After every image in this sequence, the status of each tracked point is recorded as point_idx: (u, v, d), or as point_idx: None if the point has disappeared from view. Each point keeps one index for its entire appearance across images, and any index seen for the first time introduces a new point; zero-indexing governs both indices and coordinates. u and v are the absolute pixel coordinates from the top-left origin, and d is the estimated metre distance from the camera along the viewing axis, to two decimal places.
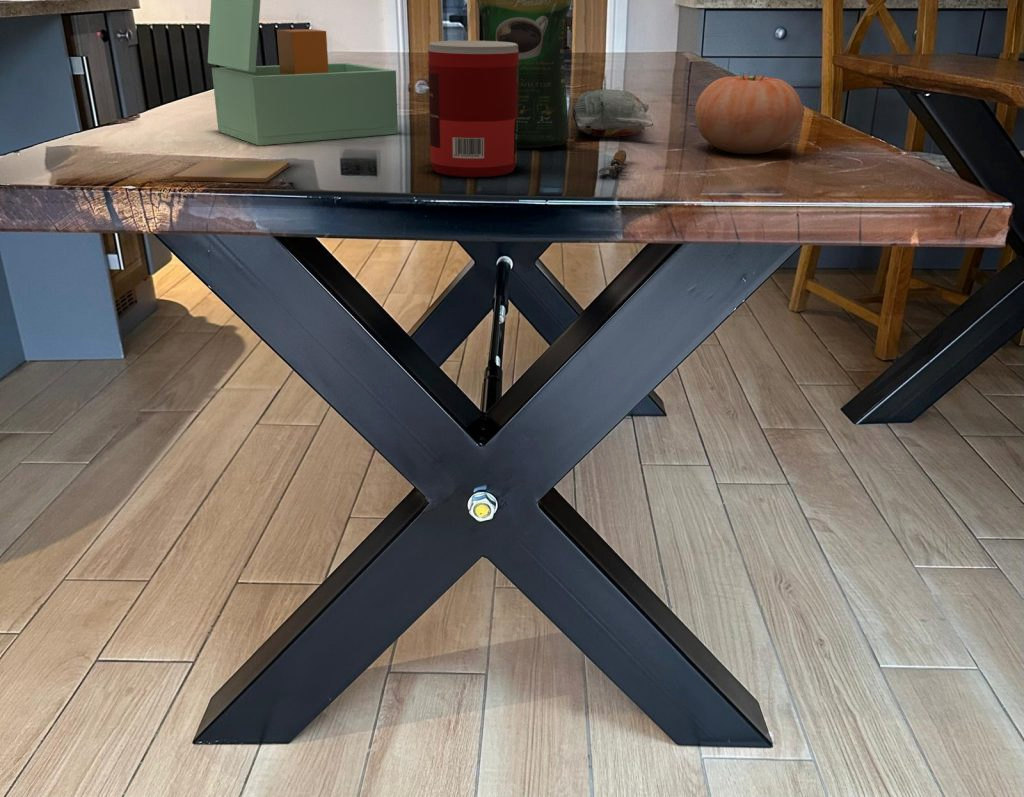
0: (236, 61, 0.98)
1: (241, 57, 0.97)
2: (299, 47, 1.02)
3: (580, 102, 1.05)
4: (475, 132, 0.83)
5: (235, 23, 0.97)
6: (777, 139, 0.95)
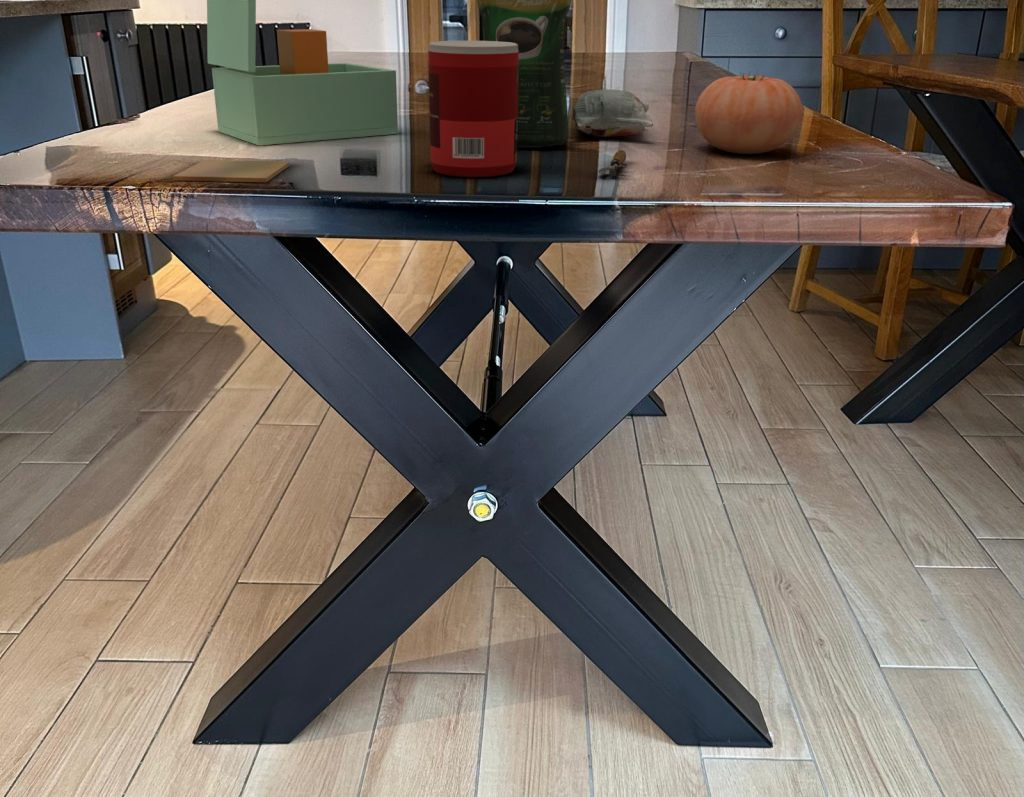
0: (235, 62, 0.98)
1: (240, 57, 0.97)
2: (299, 47, 1.02)
3: (580, 102, 1.05)
4: (475, 132, 0.83)
5: (232, 23, 0.97)
6: (777, 139, 0.95)
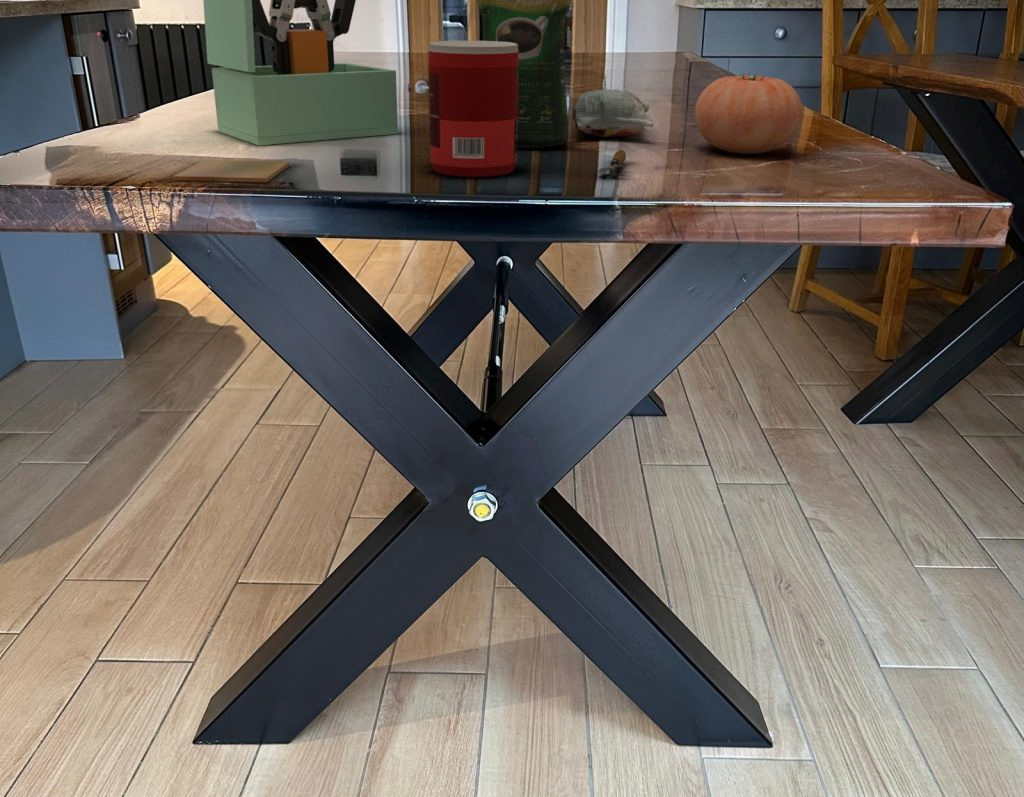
0: (235, 62, 0.98)
1: (239, 57, 0.97)
2: (299, 47, 1.02)
3: (580, 102, 1.05)
4: (475, 132, 0.83)
5: (229, 23, 0.97)
6: (777, 139, 0.95)
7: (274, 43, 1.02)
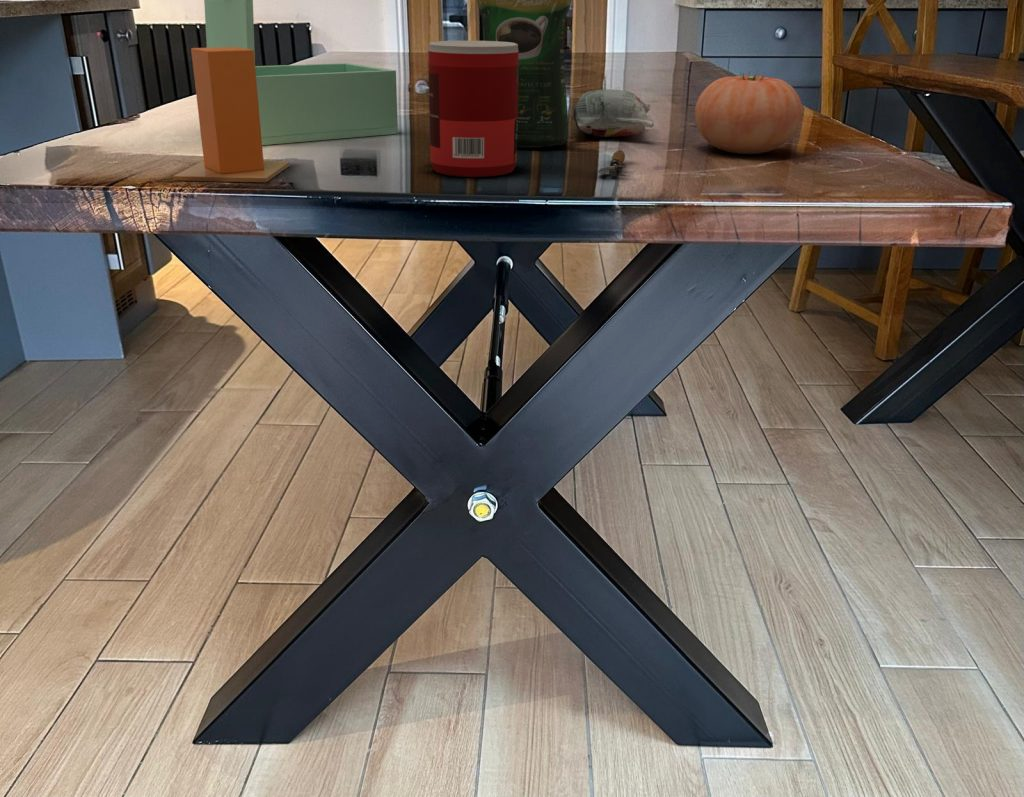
0: None
1: None
2: (218, 71, 0.79)
3: (581, 102, 1.05)
4: (475, 132, 0.83)
5: (230, 23, 0.97)
6: (777, 139, 0.95)
7: None
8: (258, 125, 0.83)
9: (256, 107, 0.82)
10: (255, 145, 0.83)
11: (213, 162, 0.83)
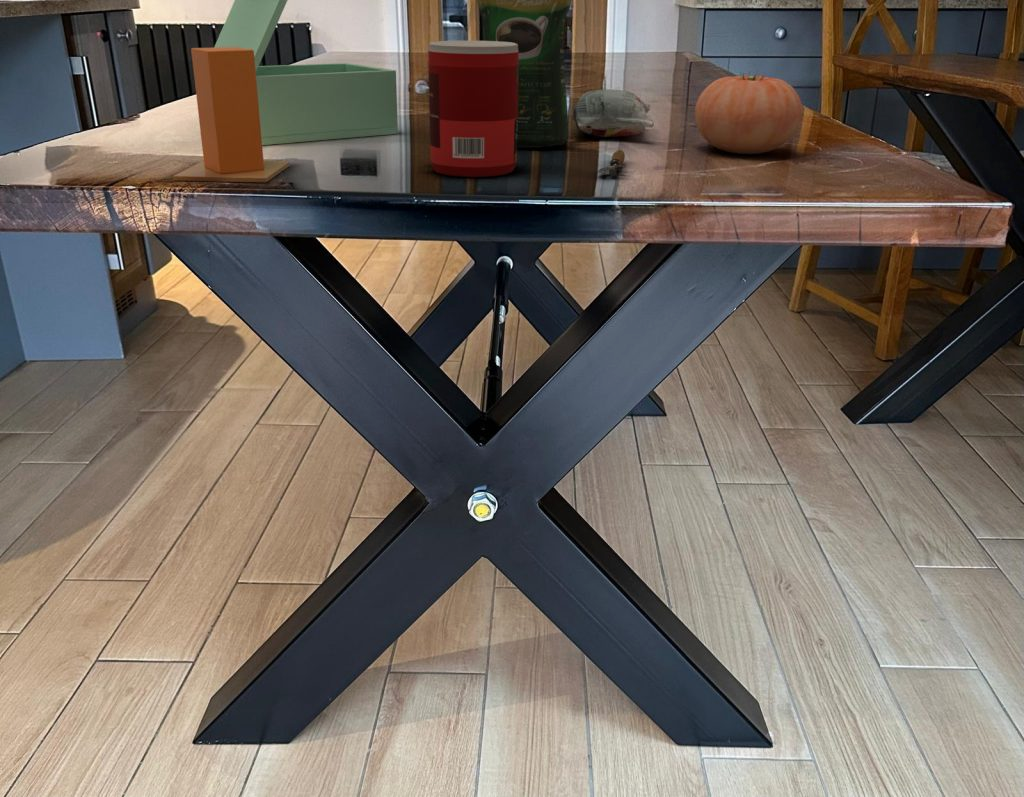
0: None
1: None
2: (218, 71, 0.79)
3: (581, 102, 1.05)
4: (475, 132, 0.83)
5: (250, 27, 0.98)
6: (777, 139, 0.95)
7: None
8: (258, 125, 0.83)
9: (256, 107, 0.82)
10: (255, 145, 0.83)
11: (213, 162, 0.83)
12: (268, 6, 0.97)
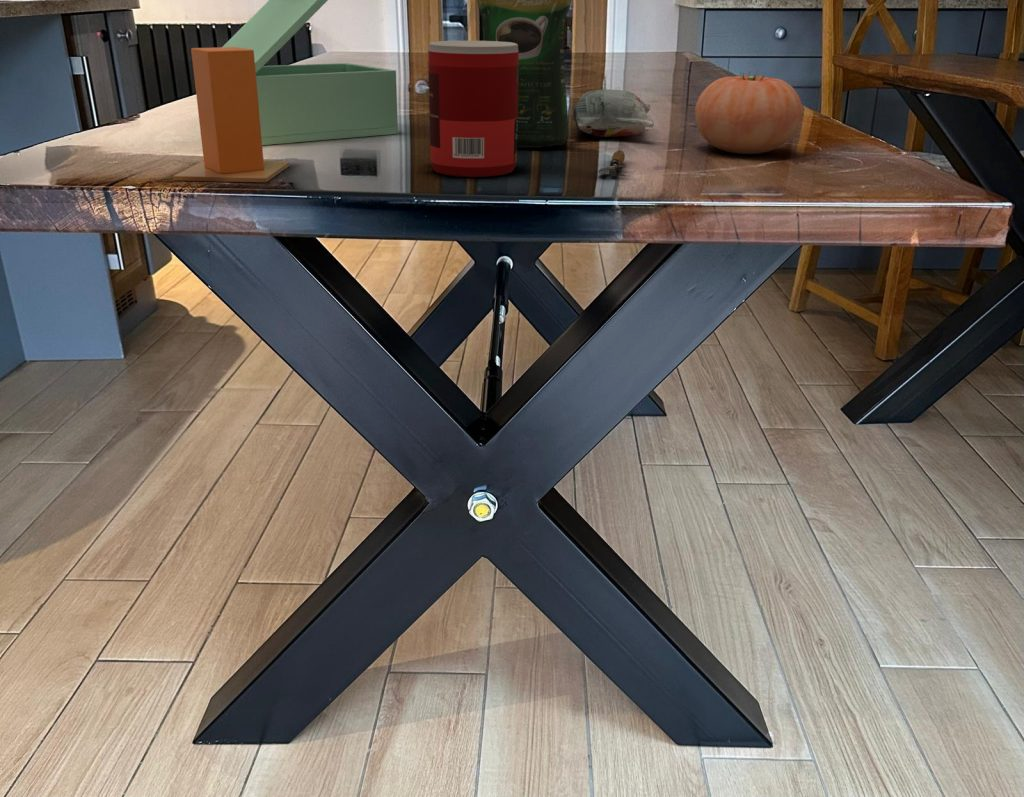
0: None
1: None
2: (218, 71, 0.79)
3: (581, 102, 1.05)
4: (475, 132, 0.83)
5: (262, 36, 1.00)
6: (777, 139, 0.95)
7: None
8: (258, 125, 0.83)
9: (256, 107, 0.82)
10: (255, 145, 0.83)
11: (213, 162, 0.83)
12: (287, 21, 0.98)
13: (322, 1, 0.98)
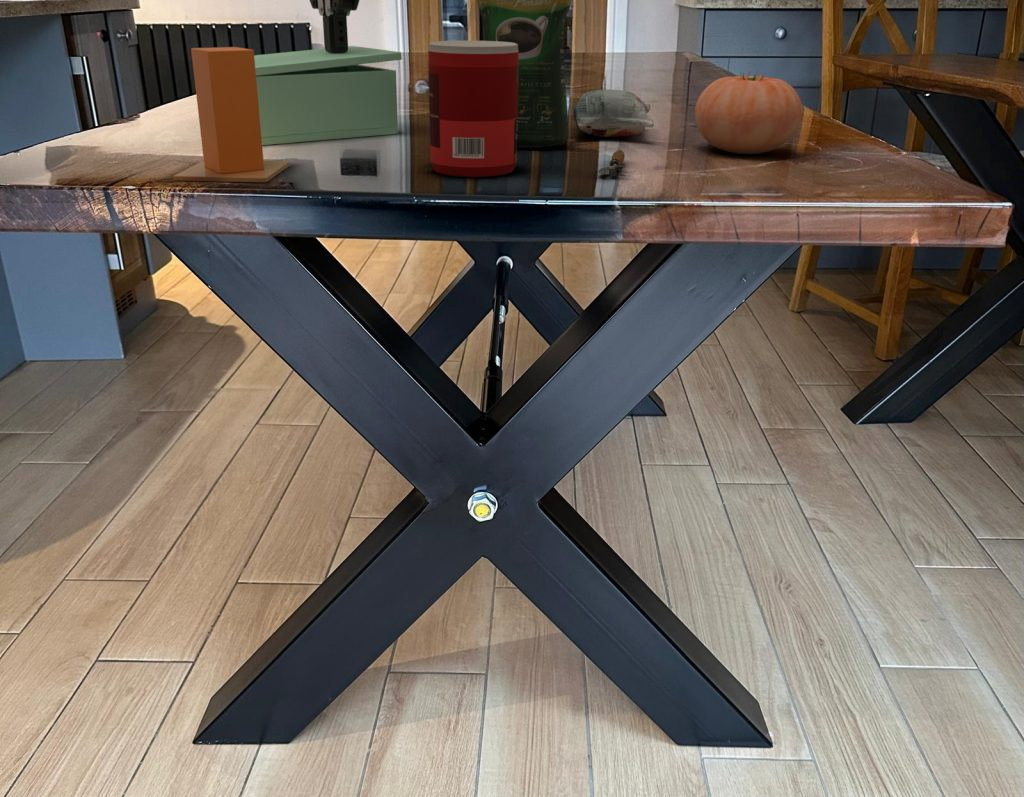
0: None
1: (255, 65, 0.98)
2: (218, 71, 0.79)
3: (581, 102, 1.05)
4: (475, 132, 0.83)
5: (275, 60, 1.01)
6: (777, 139, 0.95)
7: (343, 18, 1.04)
8: (258, 125, 0.83)
9: (256, 107, 0.82)
10: (255, 145, 0.83)
11: (213, 162, 0.83)
12: (305, 60, 1.01)
13: (345, 62, 1.01)
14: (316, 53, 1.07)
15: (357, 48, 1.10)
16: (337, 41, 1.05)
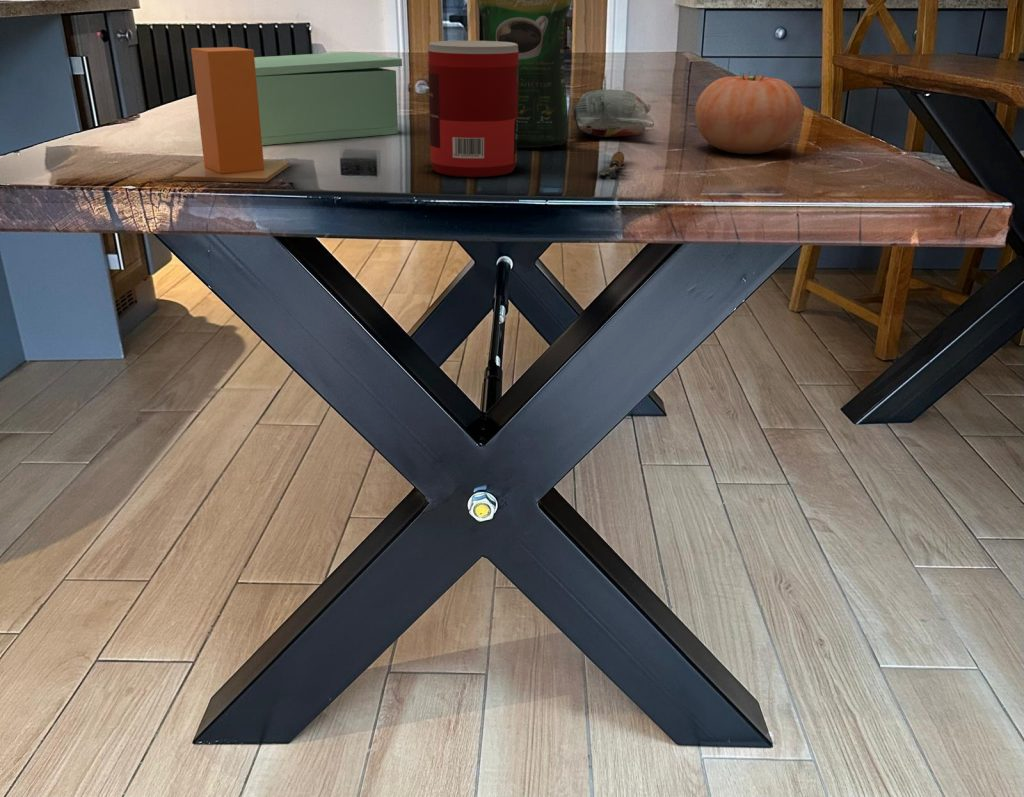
0: None
1: (255, 65, 0.98)
2: (218, 71, 0.79)
3: (581, 102, 1.05)
4: (475, 132, 0.83)
5: (275, 62, 1.01)
6: (777, 139, 0.95)
7: None
8: (258, 125, 0.83)
9: (256, 107, 0.82)
10: (255, 145, 0.83)
11: (213, 162, 0.83)
12: (306, 62, 1.01)
13: (346, 66, 1.02)
14: (317, 57, 1.07)
15: (358, 54, 1.10)
16: None
